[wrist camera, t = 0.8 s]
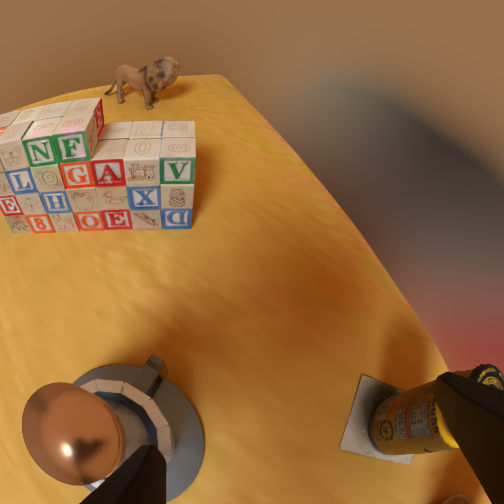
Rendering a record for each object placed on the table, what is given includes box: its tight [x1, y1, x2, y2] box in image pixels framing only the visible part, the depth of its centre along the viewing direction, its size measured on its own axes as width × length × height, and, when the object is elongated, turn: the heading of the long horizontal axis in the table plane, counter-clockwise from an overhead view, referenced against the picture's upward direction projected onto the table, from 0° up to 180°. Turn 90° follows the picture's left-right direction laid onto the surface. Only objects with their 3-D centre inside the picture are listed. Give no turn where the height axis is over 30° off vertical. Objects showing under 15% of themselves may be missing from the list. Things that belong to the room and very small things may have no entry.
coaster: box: [73, 365, 204, 502], centre depth 18 cm, size 12×12×1 cm
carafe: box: [80, 354, 176, 488], centre depth 17 cm, size 10×8×5 cm
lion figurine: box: [104, 57, 180, 110], centre depth 41 cm, size 15×5×9 cm, turn 77°
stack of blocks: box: [0, 97, 196, 233], centre depth 25 cm, size 21×6×12 cm, turn 98°
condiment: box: [339, 364, 504, 465], centre depth 17 cm, size 7×8×12 cm
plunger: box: [22, 382, 150, 485], centre depth 11 cm, size 5×5×8 cm
